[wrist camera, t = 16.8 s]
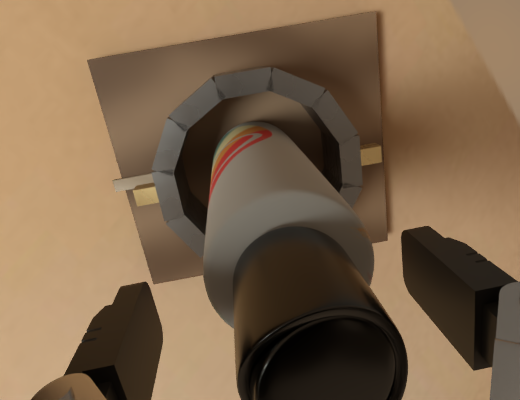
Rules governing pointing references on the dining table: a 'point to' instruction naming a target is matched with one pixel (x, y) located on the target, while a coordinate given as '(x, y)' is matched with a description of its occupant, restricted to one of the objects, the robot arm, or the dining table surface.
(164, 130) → the ring
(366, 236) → the lotion bottle
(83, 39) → the dining table surface
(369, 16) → the base plate
